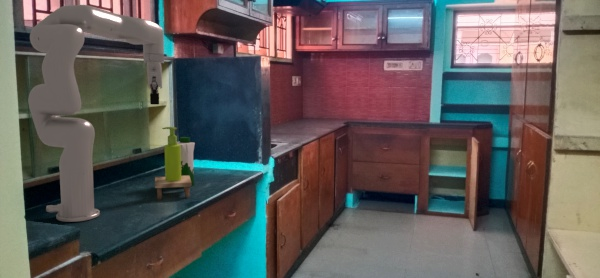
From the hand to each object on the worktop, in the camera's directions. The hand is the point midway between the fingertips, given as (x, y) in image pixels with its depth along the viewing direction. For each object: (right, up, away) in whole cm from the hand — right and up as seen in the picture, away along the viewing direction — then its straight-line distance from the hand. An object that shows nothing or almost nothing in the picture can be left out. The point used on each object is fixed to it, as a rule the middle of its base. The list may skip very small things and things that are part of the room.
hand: (154, 103), depth 185 cm
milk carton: (+8, -33, +12) cm, 36 cm away
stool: (+8, -35, -3) cm, 36 cm away
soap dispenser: (+8, -29, -4) cm, 31 cm away
